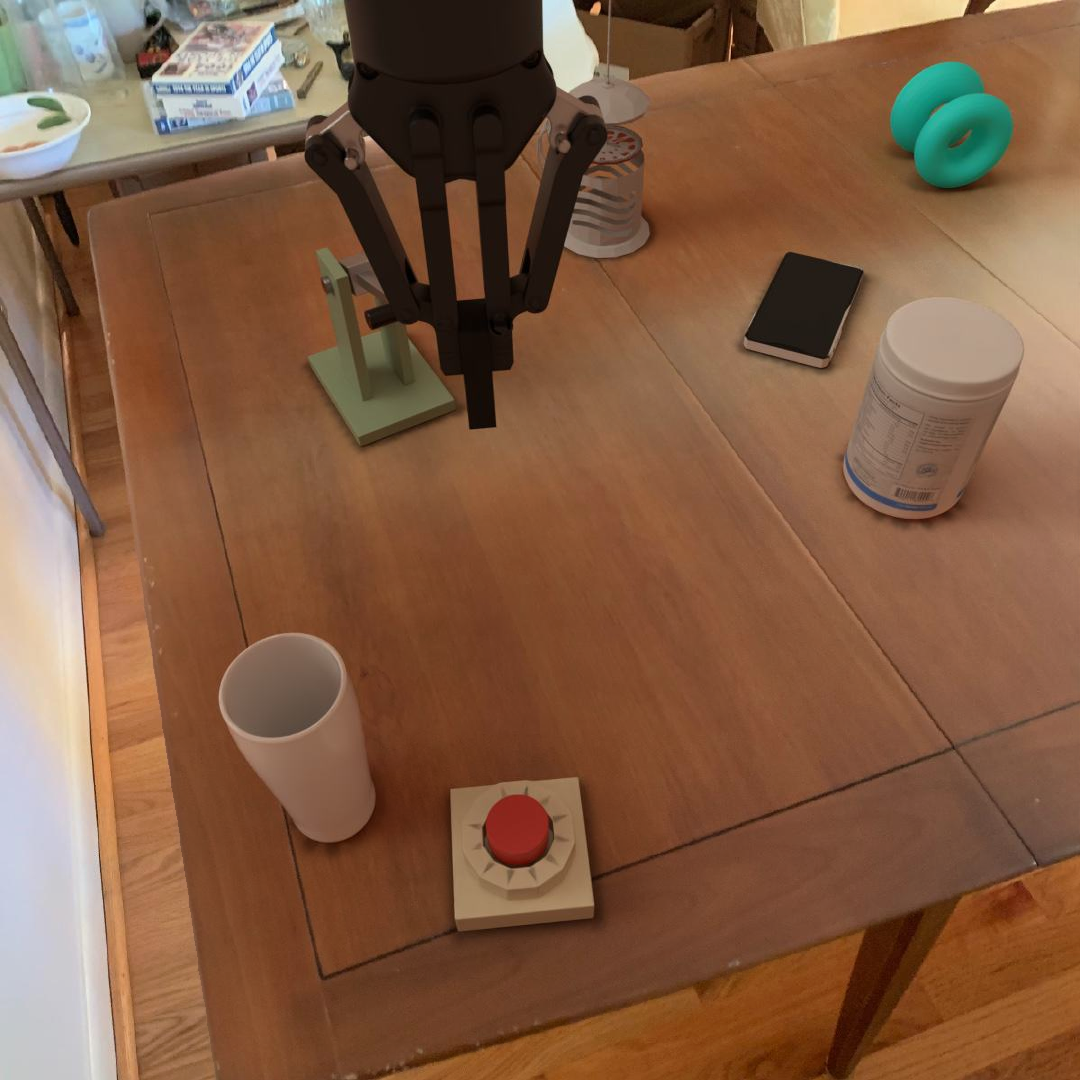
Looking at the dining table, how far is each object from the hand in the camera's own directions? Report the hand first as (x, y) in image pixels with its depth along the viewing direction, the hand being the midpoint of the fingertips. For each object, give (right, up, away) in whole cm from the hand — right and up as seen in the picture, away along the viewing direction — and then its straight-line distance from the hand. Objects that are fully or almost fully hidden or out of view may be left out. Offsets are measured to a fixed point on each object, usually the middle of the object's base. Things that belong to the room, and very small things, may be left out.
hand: (481, 411), depth 54 cm
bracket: (-11, +7, +33) cm, 36 cm away
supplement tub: (+32, -2, +25) cm, 41 cm away
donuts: (+47, +34, +54) cm, 80 cm away
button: (+2, -24, +3) cm, 25 cm away
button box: (+2, -27, +6) cm, 27 cm away
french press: (+9, +25, +48) cm, 55 cm away
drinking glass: (-10, -24, +9) cm, 27 cm away
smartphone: (+28, +14, +39) cm, 50 cm away
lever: (-9, +11, +21) cm, 25 cm away
